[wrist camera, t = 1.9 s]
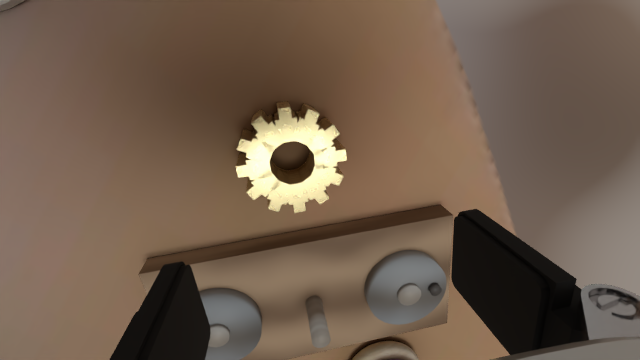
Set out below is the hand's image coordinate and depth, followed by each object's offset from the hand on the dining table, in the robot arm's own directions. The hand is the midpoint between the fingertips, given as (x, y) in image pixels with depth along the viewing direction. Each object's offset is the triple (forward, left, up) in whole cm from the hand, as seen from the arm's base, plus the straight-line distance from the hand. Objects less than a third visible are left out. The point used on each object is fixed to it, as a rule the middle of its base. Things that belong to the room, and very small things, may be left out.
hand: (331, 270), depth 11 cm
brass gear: (0, 0, -14) cm, 14 cm away
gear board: (+13, 0, -14) cm, 19 cm away
